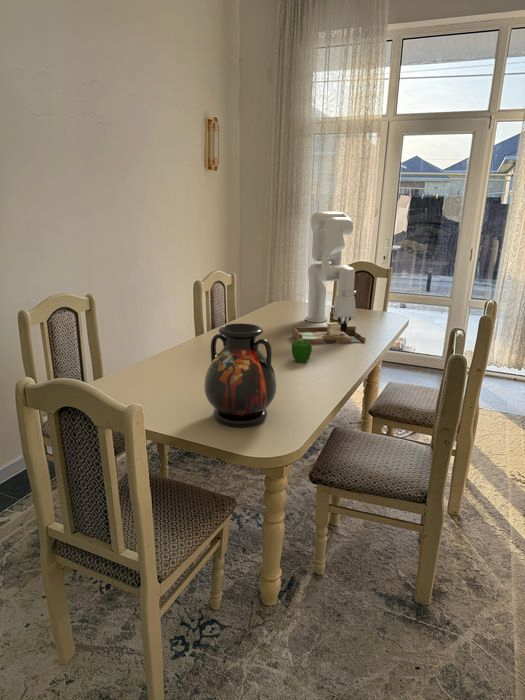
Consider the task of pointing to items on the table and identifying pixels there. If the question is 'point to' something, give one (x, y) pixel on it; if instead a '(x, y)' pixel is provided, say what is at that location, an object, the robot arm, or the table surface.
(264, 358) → the amphora vase
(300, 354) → the bell pepper
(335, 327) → the birch block
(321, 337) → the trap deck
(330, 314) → the condiment
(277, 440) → the table surface
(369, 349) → the table surface
